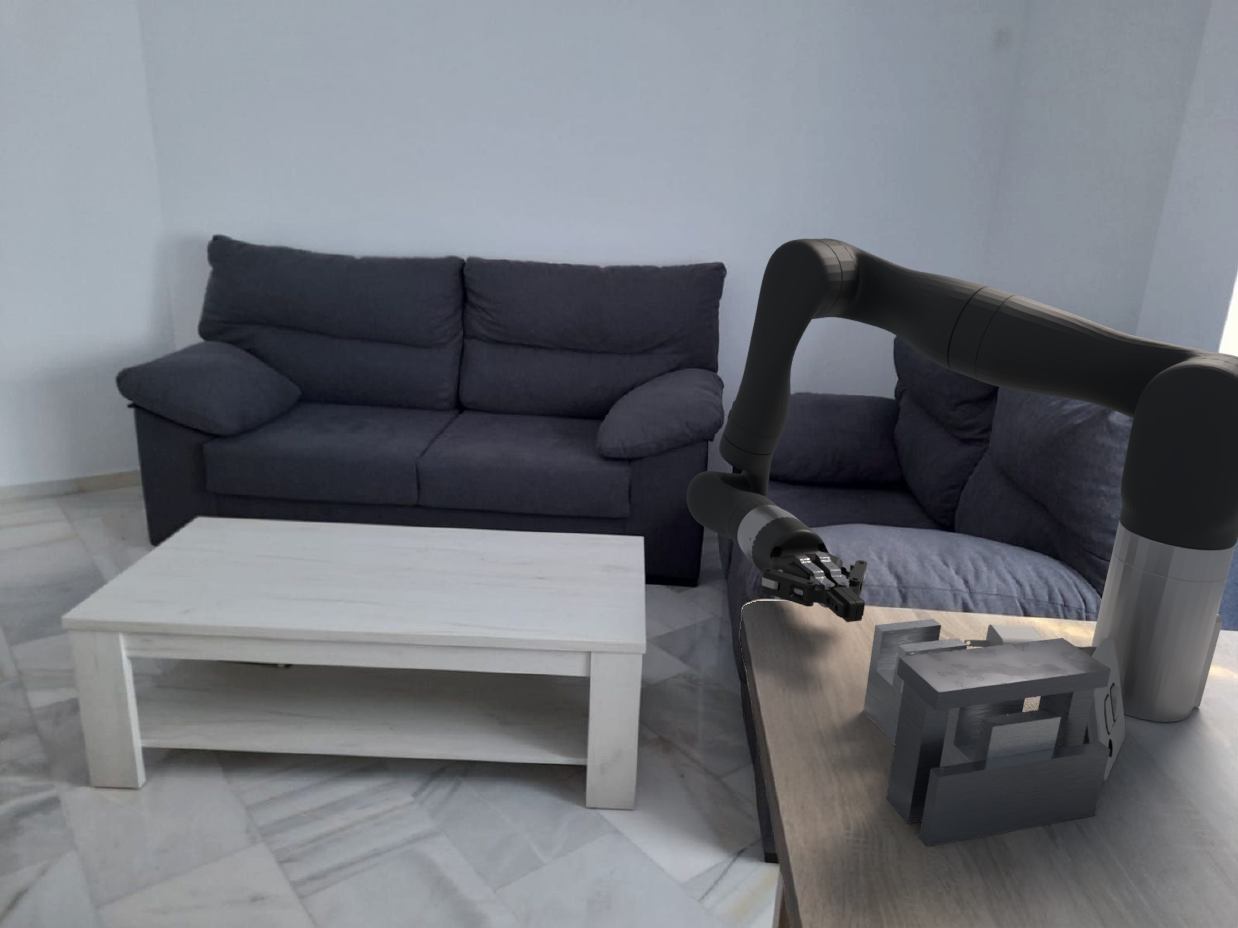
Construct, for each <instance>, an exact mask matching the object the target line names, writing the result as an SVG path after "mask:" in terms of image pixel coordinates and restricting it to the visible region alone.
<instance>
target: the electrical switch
mask: <svg viewBox="0 0 1238 928" xmlns="http://www.w3.org/2000/svg"><path fill="white" fill-rule="evenodd" d="M1075 646H1076V647H1077V648H1079V649H1080V650H1082V651H1083V652H1085V653H1086V654H1088V655H1090V656H1091V657H1093V658H1094V659H1096V660H1097V661H1099V662H1100V663H1102V664H1103V665H1105V666H1106V667H1108V668H1109V669H1111V672H1110V676H1109V680H1108V685H1107V687H1103V688H1096V689H1095V691H1094V695H1093V699H1092V704H1091V708H1090V713H1089V717H1088V722H1087V726H1086V730H1085V735H1084V739H1083V744H1089V743H1096V742H1101V743H1102V744H1104V745H1105V746H1106V747H1108V748H1109V749H1110V753H1109V757H1108V761H1107V765H1106V770H1105V774H1104V778H1103V782H1107V780H1108V777H1109V775H1110V773H1111V771H1112V768H1113V766H1114V764H1115V760H1116V758H1117V756H1118V754H1119V752H1120V749H1121V747H1122V745H1123V742H1124V739H1125V738H1126V723H1125V722H1126V721H1125V713H1124V710H1123V702H1122V694H1121V685H1120V677H1119V669H1118V662H1117V656H1116V649H1115V643H1114V641H1113V640H1111V639H1104V638H1102V640H1101V642H1100V643H1099V645H1098V647H1091V645H1090V646H1087V645H1086V646H1077V645H1075ZM1083 744H1082V745H1083Z"/></svg>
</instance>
